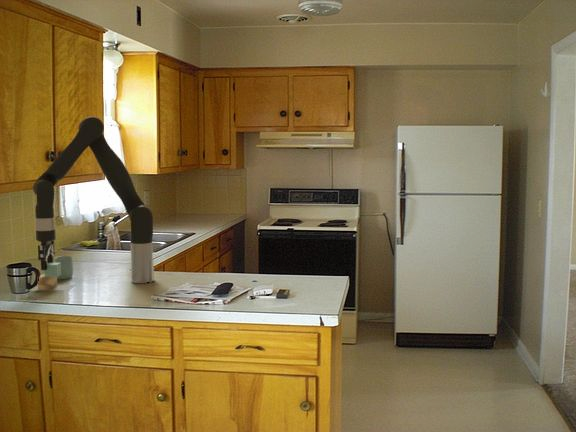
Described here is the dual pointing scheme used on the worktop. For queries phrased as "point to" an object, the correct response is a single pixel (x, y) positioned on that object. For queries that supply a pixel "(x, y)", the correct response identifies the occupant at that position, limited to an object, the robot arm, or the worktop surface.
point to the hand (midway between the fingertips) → (47, 268)
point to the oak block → (47, 282)
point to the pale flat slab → (59, 287)
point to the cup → (65, 266)
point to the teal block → (53, 270)
